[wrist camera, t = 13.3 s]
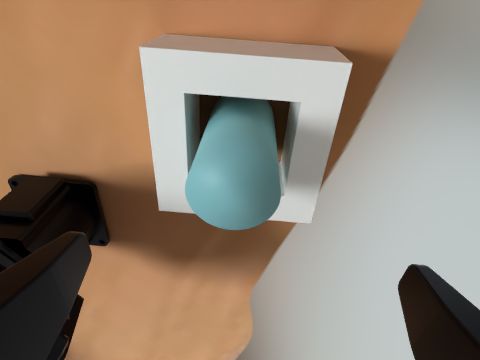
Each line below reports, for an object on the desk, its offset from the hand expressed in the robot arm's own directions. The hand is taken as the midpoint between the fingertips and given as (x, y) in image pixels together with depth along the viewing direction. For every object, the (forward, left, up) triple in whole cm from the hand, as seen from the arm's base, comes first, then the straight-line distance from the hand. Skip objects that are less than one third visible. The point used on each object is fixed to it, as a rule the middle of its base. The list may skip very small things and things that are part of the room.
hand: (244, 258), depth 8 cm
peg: (-1, +1, -12) cm, 12 cm away
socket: (-1, +1, -12) cm, 12 cm away
